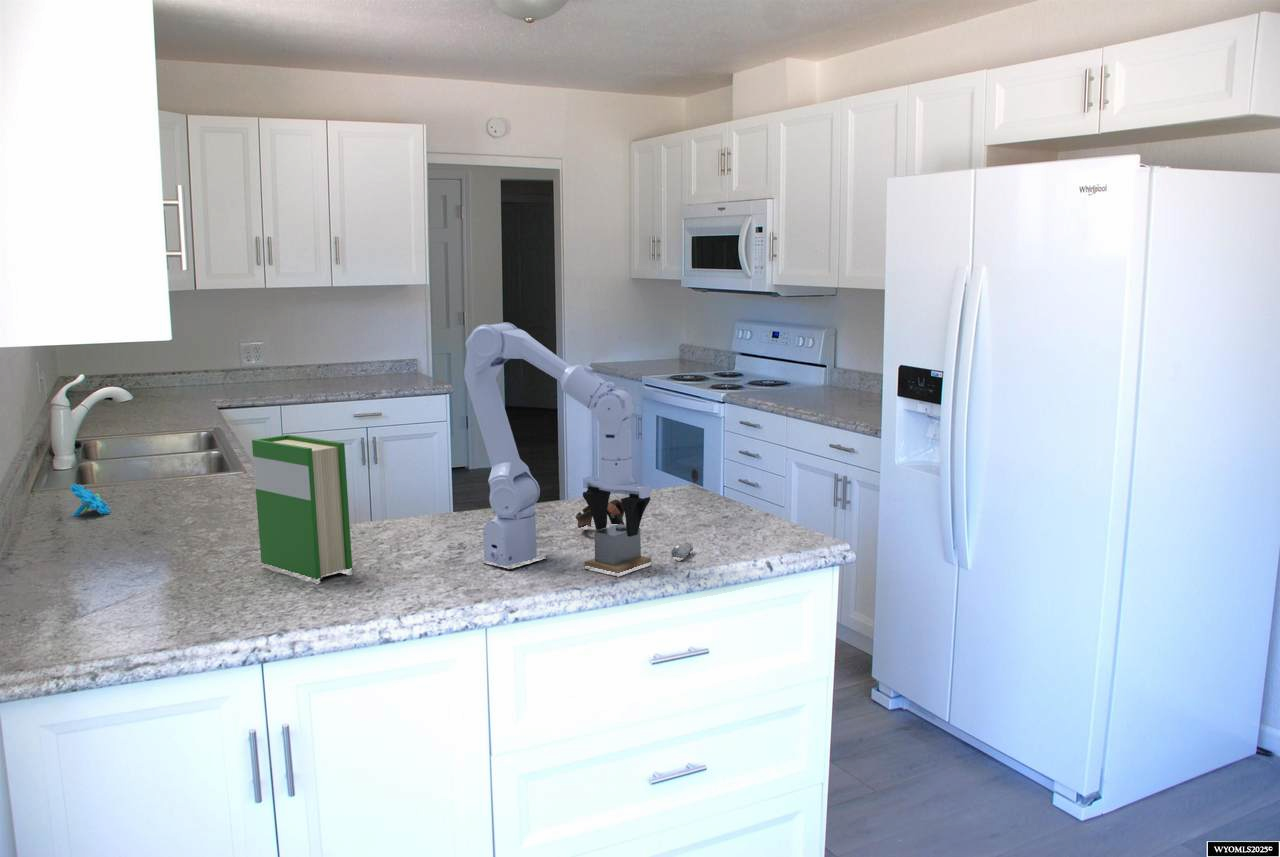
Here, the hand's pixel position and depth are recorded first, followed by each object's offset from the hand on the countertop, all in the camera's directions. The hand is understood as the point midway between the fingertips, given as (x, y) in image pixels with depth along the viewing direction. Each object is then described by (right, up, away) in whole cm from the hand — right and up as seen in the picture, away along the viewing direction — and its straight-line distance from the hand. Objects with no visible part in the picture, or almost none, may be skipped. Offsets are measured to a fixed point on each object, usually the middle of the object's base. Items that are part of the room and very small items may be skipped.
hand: (616, 532), depth 181 cm
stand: (0, -7, +1) cm, 7 cm away
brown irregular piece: (-3, -3, +27) cm, 27 cm away
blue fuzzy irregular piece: (-123, -2, +52) cm, 133 cm away
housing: (0, -5, +1) cm, 5 cm away
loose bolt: (+12, -5, +7) cm, 16 cm away
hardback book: (-57, -8, +3) cm, 57 cm away
